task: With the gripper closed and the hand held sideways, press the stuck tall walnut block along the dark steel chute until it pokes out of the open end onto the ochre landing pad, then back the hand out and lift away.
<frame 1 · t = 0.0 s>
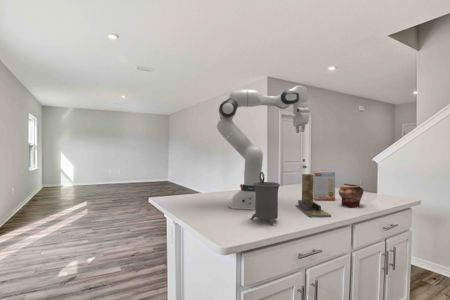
hand: (300, 132, 160), 48 cm above the table, tool pointing down, fingers open, 8 cm apart
footed curly-handled cup: (265, 221, 129), on the table
walnut block: (307, 190, 155), point 11 cm above the table, slide at 0.0 cm
decorative planter: (351, 205, 163), on the table
cracker box: (323, 200, 181), on the table
steel chute: (311, 211, 148), on the table
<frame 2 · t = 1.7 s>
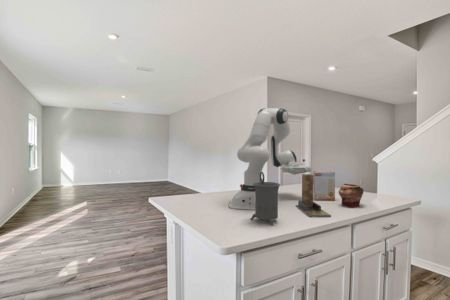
hand: (299, 170, 171), 22 cm above the table, tool horizontal, fingers open, 7 cm apart
nothing on the table moved.
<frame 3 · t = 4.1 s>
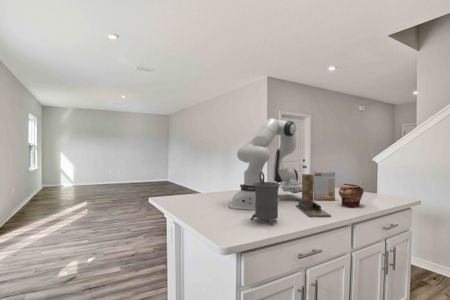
hand: (300, 190, 169), 9 cm above the table, tool horizontal, fingers closed
nothing on the table moved.
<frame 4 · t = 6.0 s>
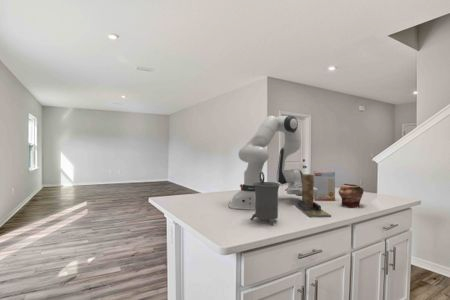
hand: (305, 193, 158), 9 cm above the table, tool horizontal, fingers closed, pressing on walnut block
walnut block: (307, 190, 155), point 11 cm above the table, slide at 0.3 cm, touching gripper
everything else where it was.
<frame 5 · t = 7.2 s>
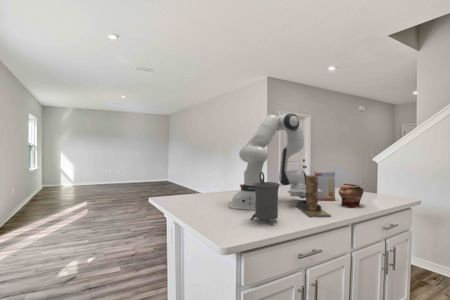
hand: (309, 195, 151), 9 cm above the table, tool horizontal, fingers closed, pressing on walnut block
walnut block: (311, 192, 148), point 11 cm above the table, slide at 7.1 cm, touching gripper
everything else where it was.
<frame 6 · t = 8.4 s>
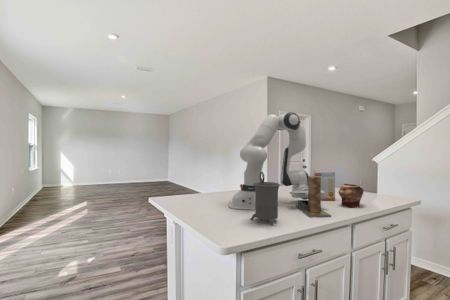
hand: (312, 196, 147), 9 cm above the table, tool horizontal, fingers closed, pressing on walnut block
walnut block: (314, 193, 144), point 11 cm above the table, slide at 11.4 cm, touching gripper
everything else where it was.
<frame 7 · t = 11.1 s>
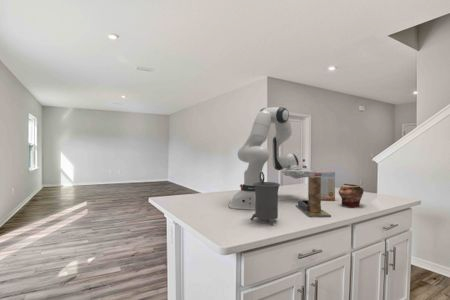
hand: (301, 174, 166), 20 cm above the table, tool horizontal, fingers closed
walnut block: (314, 193, 144), point 11 cm above the table, slide at 11.4 cm
everything else where it was.
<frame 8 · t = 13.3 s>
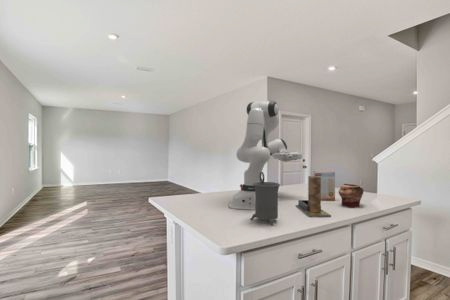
hand: (290, 156, 173), 32 cm above the table, tool horizontal, fingers closed
nothing on the table moved.
at the end: walnut block slide at 11.4 cm; the gripper is holding nothing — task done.
